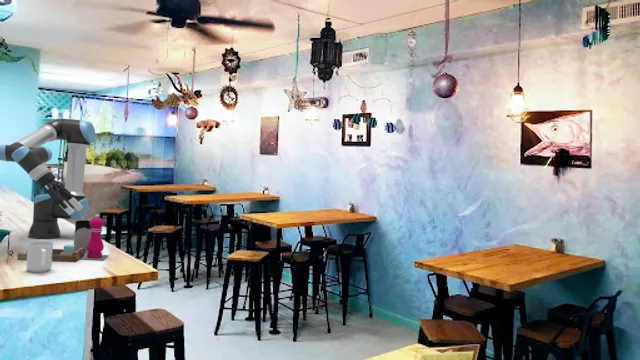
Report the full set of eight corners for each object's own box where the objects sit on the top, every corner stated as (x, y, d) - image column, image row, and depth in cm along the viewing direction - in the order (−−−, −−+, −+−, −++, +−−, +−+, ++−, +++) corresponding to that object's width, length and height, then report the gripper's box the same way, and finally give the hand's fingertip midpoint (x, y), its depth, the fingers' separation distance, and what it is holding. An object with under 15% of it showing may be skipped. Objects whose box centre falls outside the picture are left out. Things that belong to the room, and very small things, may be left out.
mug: (24, 268, 196) (25, 241, 195) (48, 266, 202) (50, 240, 201) (29, 275, 187) (31, 247, 186) (55, 273, 192) (56, 246, 192)
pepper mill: (96, 259, 219) (99, 215, 218) (82, 257, 220) (85, 214, 220) (106, 256, 226) (109, 214, 225) (92, 254, 228) (95, 212, 227)
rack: (29, 253, 221) (30, 244, 221) (84, 255, 226) (84, 247, 226) (17, 259, 208) (17, 250, 208) (75, 262, 213) (76, 253, 212)
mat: (86, 254, 227) (86, 254, 227) (108, 255, 229) (108, 255, 229) (79, 259, 217) (80, 258, 217) (103, 260, 219) (103, 259, 219)
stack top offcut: (64, 251, 220) (65, 244, 219) (74, 251, 221) (74, 244, 221) (63, 253, 216) (63, 246, 216) (73, 253, 217) (73, 246, 217)
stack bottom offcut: (65, 257, 221) (66, 250, 221) (76, 257, 221) (77, 251, 221) (60, 259, 216) (60, 252, 216) (71, 260, 216) (71, 253, 216)
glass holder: (72, 254, 226) (74, 222, 225) (72, 248, 239) (74, 218, 238) (92, 254, 230) (94, 223, 229) (91, 248, 243) (93, 218, 242)
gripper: (45, 179, 229) (77, 212, 233) (25, 184, 204) (61, 220, 208) (58, 169, 230) (90, 202, 234) (39, 172, 205) (75, 209, 209)
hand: (76, 211), depth 221 cm, fingers open, 13 cm apart
